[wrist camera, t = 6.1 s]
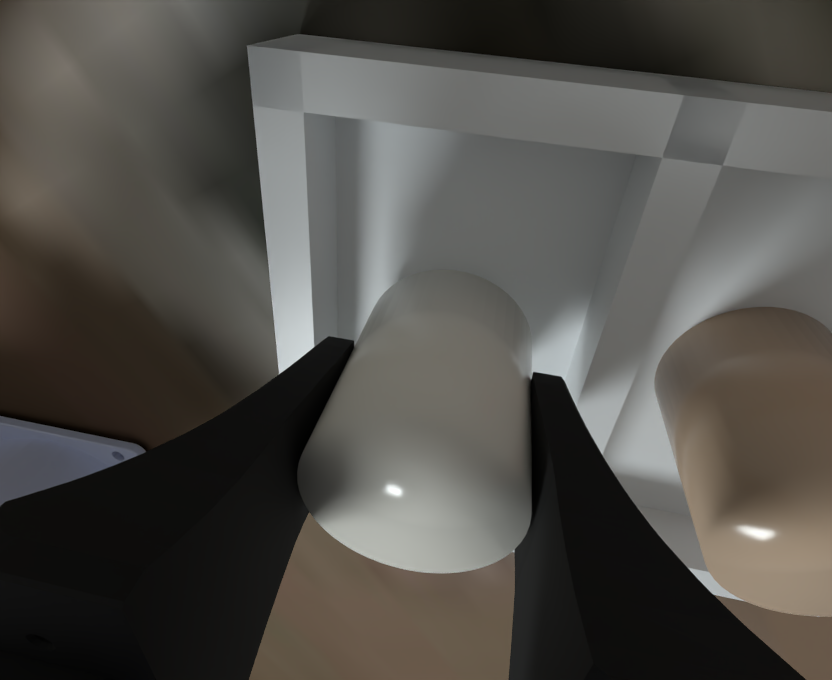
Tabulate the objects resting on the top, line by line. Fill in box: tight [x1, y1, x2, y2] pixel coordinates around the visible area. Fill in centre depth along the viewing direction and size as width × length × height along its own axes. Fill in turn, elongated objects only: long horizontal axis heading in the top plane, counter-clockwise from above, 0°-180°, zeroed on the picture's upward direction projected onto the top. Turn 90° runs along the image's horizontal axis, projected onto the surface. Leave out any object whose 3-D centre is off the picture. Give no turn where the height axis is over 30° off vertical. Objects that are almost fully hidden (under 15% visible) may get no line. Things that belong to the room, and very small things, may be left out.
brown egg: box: [654, 307, 832, 617], centre depth 11 cm, size 4×4×5 cm
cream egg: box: [297, 270, 532, 573], centre depth 11 cm, size 4×4×5 cm
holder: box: [247, 34, 832, 617], centre depth 13 cm, size 16×13×2 cm
